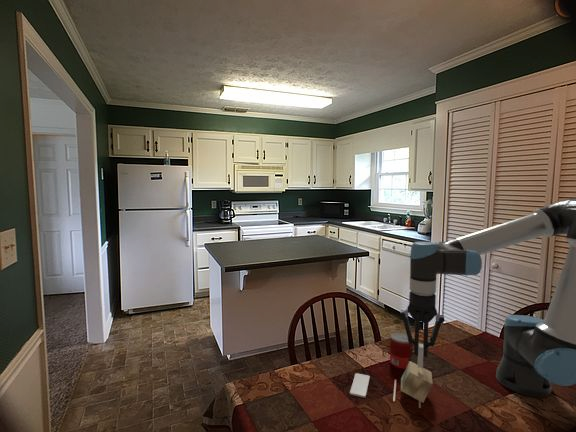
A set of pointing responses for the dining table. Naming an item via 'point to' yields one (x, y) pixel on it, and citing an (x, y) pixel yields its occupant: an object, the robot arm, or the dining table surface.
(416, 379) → the tan cube
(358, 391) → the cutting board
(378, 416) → the dining table surface
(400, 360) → the canned food
